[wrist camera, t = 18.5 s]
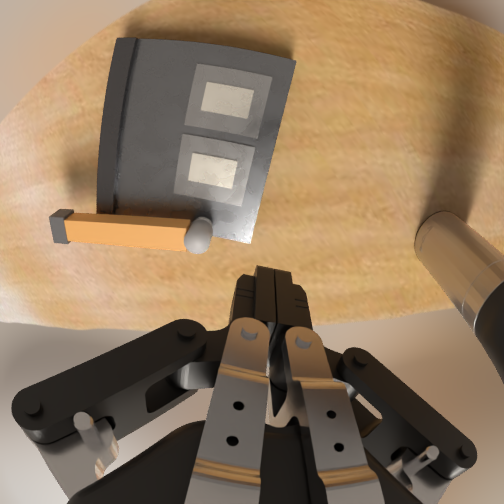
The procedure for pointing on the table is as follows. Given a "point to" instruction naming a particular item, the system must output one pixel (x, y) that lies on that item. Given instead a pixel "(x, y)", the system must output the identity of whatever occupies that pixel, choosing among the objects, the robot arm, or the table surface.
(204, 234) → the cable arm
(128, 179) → the plate
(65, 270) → the table surface
